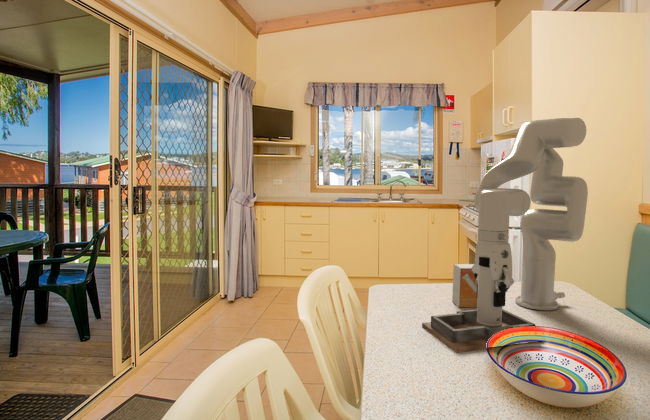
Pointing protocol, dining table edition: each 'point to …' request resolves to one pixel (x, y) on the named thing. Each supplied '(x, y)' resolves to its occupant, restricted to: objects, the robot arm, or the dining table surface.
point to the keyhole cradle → (468, 329)
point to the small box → (464, 286)
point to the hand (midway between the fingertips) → (490, 301)
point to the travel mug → (487, 297)
